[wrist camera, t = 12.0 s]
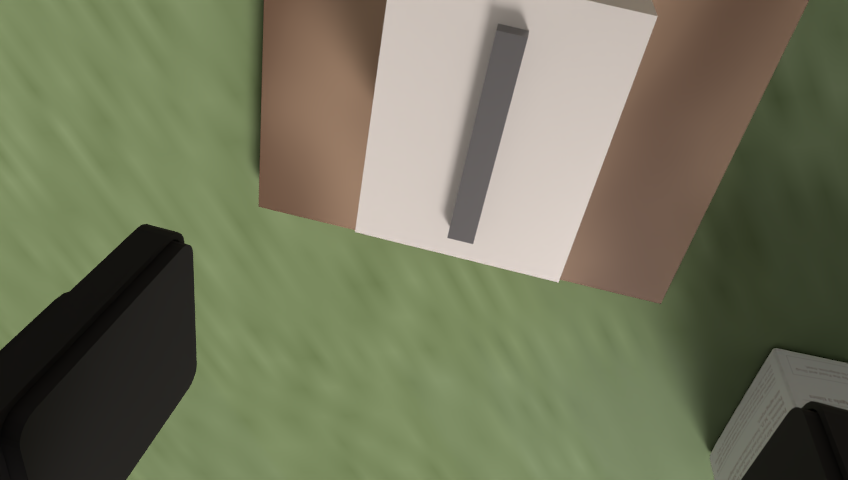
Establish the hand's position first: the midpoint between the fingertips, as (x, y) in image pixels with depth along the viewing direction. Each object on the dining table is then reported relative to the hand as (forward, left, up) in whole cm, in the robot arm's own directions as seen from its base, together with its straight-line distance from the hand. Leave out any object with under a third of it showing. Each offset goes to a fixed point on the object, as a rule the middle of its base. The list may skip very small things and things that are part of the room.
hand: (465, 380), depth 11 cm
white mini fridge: (+1, 0, -14) cm, 14 cm away
